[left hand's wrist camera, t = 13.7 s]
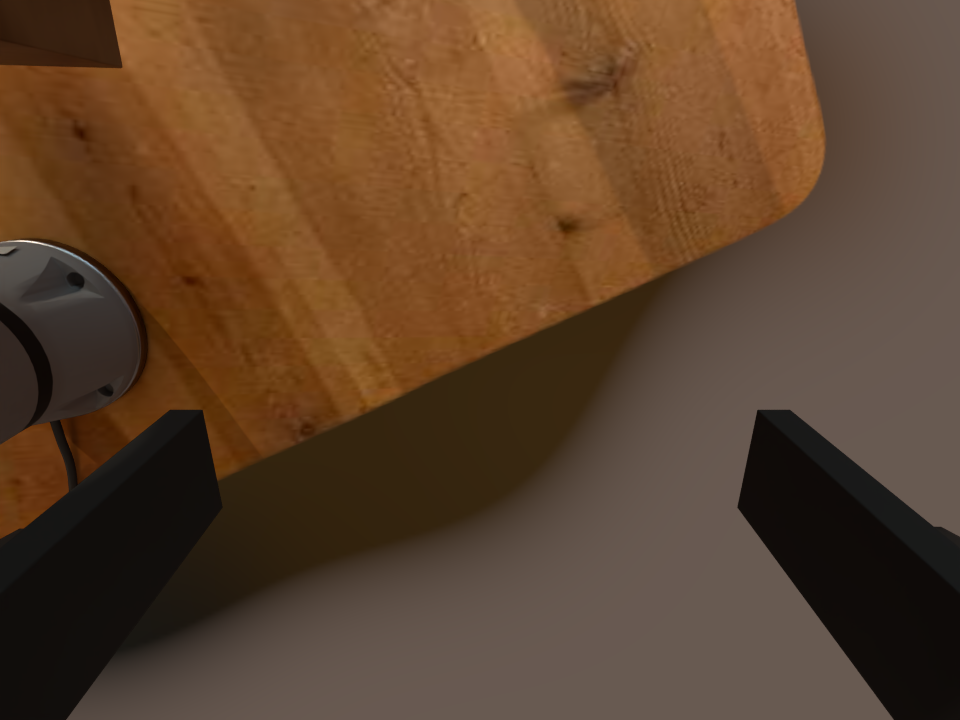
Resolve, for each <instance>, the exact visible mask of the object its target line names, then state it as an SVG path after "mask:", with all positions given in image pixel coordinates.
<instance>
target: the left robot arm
mask: <svg viewBox="0 0 960 720" xmlns="http://www.w3.org/2000/svg"><path fill="white" fill-rule="evenodd" d="M146 356H147V336H146V330H145V326H144V323H143V319H142V317H141V314H140V311H139V309H138V307H137V305H136V303H135V302H134V300H133V298H132V297H131V295H130V294H129V292H128V291H127V290H126V288H125V287H124V286H123V284H122V283H121V282H120V281H119V280H118V279H117V278H116V277H115V276H114V275H113V274H112V273H111V272H110V271H109V270H108V269H107V268H106V267H104V266H103V265H102V264H100V263H99V262H98V261H96V260H95V259H93V258H92V257H90V256H89V255H87V254H85V253H83V252H81V251H79V250H77V249H75V248H73V247H70V246H68V245H65V244H62V243H59V242H55V241H51V240H45V239H35V238H26V239H16V240H10V241H4V242H0V444H2V443H3V442H5V441H7V440H8V439H10V438H11V437H13V436H15V435H16V434H18V433H19V432H21V431H23V430H24V429H26V428H28V427H30V426H32V425H36V424H41V423H46V422H50V423H51V426H52V430H53V433H54V436H55V438H56V441H57V444H58V447H59V449H60V451H61V454H62V456H63V459H64V462H65V465H66V470H67V475H68V484H69V492H68V493H67V494H66V495H65V496H63V497H62V498H61V499H60V500H59V501H57V502H56V503H55V504H54V505H52V506H51V507H50V508H49V509H47V510H46V511H45V512H44V513H43V514H41V515H40V516H39V517H38V518H36V519H35V520H34V521H33V522H31V523H30V524H29V525H28V526H27V527H25V528H24V529H18V530H16V531H14V532H13V533H11V534H9V535H7V536H5V537H3V538H1V539H0V720H66V719H67V718H68V716H69V715H70V714H71V712H72V711H73V710H74V708H75V707H76V705H77V704H78V703H79V701H80V700H81V699H82V697H83V696H84V695H85V693H86V692H87V691H88V689H89V688H90V686H91V685H92V684H93V682H94V681H95V680H96V678H97V677H98V676H99V674H100V673H101V672H102V670H103V669H104V668H105V666H106V665H107V663H108V662H109V661H110V659H111V658H112V657H113V655H114V654H115V653H116V651H117V650H118V649H119V647H120V646H121V644H122V643H123V642H124V640H125V639H126V638H127V636H128V635H129V634H130V632H131V631H132V630H133V628H134V627H135V625H136V624H137V623H138V621H139V620H140V619H141V617H142V616H143V615H144V613H145V612H146V610H147V609H148V608H149V606H150V605H151V604H152V602H153V601H154V600H155V598H156V597H157V596H158V594H159V593H160V591H161V590H162V589H163V587H164V586H165V585H166V583H167V582H168V581H169V579H170V578H171V577H172V575H173V574H174V572H175V571H176V570H177V569H178V567H179V566H180V564H181V563H182V562H183V560H184V559H185V558H186V556H187V555H188V553H189V552H190V551H191V549H192V548H193V547H194V545H195V544H196V543H197V541H198V540H199V539H200V537H201V536H202V535H203V533H204V532H205V530H206V529H207V528H208V526H209V525H210V524H211V522H212V521H213V520H214V518H215V517H216V516H217V514H218V513H219V512H220V510H221V509H222V502H221V497H220V493H219V488H218V483H217V478H216V473H215V468H214V463H213V459H212V454H211V449H210V444H209V439H208V434H207V429H206V425H205V420H204V415H203V410H169V411H168V412H167V413H166V414H164V415H163V416H162V417H161V418H159V419H158V420H157V421H156V422H155V423H153V424H152V425H151V426H150V427H148V428H147V429H146V430H145V431H143V432H142V433H141V434H140V435H139V436H137V437H136V438H135V439H134V440H132V441H131V442H130V443H129V444H127V445H126V446H125V447H124V448H123V449H121V450H120V451H119V452H118V453H116V454H115V455H114V456H113V457H111V458H110V459H109V460H108V461H107V462H105V463H104V464H103V465H102V466H100V467H99V468H98V469H97V470H95V471H94V472H93V473H92V474H91V475H89V476H88V477H87V478H86V479H84V480H83V481H82V482H81V483H79V484H77V474H76V468H75V463H74V459H73V456H72V453H71V450H70V448H69V446H68V443H67V440H66V438H65V435H64V431H63V428H62V425H61V422H60V420H61V419H66V418H70V417H75V416H80V415H84V414H88V413H91V412H93V411H96V410H98V409H100V408H103V407H105V406H107V405H109V404H110V403H112V402H114V401H115V400H117V399H118V398H120V397H121V396H123V395H124V394H125V393H126V392H128V391H129V390H130V389H131V388H132V387H133V386H134V384H135V383H136V382H137V380H138V379H139V377H140V375H141V373H142V371H143V368H144V365H145V361H146ZM738 509H739V510H740V511H741V513H742V514H743V516H744V517H745V518H746V520H747V521H748V522H749V524H750V525H751V526H752V528H753V529H754V531H755V532H756V533H757V535H758V536H759V537H760V539H761V540H762V541H763V543H764V544H765V545H766V547H767V548H768V550H769V551H770V552H771V554H772V555H773V556H774V558H775V559H776V560H777V562H778V563H779V564H780V566H781V567H782V568H783V570H784V571H785V572H786V574H787V575H788V577H789V578H790V579H791V581H792V582H793V583H794V585H795V586H796V588H797V589H798V590H799V592H800V593H801V594H802V596H803V597H804V598H805V600H806V601H807V602H808V604H809V605H810V606H811V608H812V609H813V611H814V612H815V613H816V615H817V616H818V617H819V619H820V620H821V621H822V623H823V624H824V625H825V627H826V628H827V630H828V631H829V632H830V634H831V635H832V636H833V638H834V639H835V640H836V642H837V643H838V644H839V646H840V647H841V649H842V650H843V651H844V653H845V654H846V655H847V657H848V658H849V659H850V661H851V662H852V663H853V665H854V666H855V668H856V669H857V670H858V672H859V673H860V674H861V676H862V677H863V678H864V680H865V681H866V682H867V684H868V685H869V687H870V688H871V689H872V691H873V692H874V693H875V695H876V696H877V697H878V699H879V700H880V701H881V703H882V704H883V706H884V707H885V708H886V710H887V711H888V712H889V714H890V715H891V716H892V718H893V719H894V720H960V537H959V536H957V535H955V534H953V533H952V532H950V531H948V530H946V529H944V528H942V527H933V526H932V525H931V524H930V523H929V522H927V521H926V520H925V519H924V518H922V517H921V516H920V515H919V514H917V513H916V512H915V511H914V510H912V509H911V508H910V507H909V506H908V505H906V504H905V503H904V502H903V501H901V500H900V499H899V498H898V497H897V496H895V495H894V494H893V493H892V492H890V491H889V490H888V489H887V488H885V487H884V486H883V485H882V484H881V483H879V482H878V481H877V480H876V479H874V478H873V477H872V476H871V475H869V474H868V473H867V472H866V471H865V470H863V469H862V468H861V467H860V466H858V465H857V464H856V463H855V462H853V461H852V460H851V459H850V458H849V457H847V456H846V455H845V454H844V453H842V452H841V451H840V450H839V449H837V448H836V447H835V446H834V445H832V444H831V443H830V442H829V441H828V440H826V439H825V438H824V437H823V436H821V435H820V434H819V433H818V432H817V431H815V430H814V429H813V428H812V427H810V426H809V425H808V424H807V423H805V422H804V421H803V420H802V419H801V418H799V417H798V416H797V415H796V414H794V413H793V412H792V411H791V410H757V415H756V420H755V425H754V429H753V434H752V439H751V444H750V449H749V454H748V459H747V463H746V468H745V473H744V478H743V483H742V488H741V493H740V497H739V502H738Z"/></svg>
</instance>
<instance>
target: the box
mask: <svg viewBox="0 0 960 720" xmlns="http://www.w3.org/2000/svg"><path fill="white" fill-rule="evenodd" d="M0 65H27V66H62V67H98V68H122V62H121V57H120V51H119V46H118V41H117V36H116V31H115V26H114V21H113V16H112V11H111V6H110V1H109V0H0Z"/></svg>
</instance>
